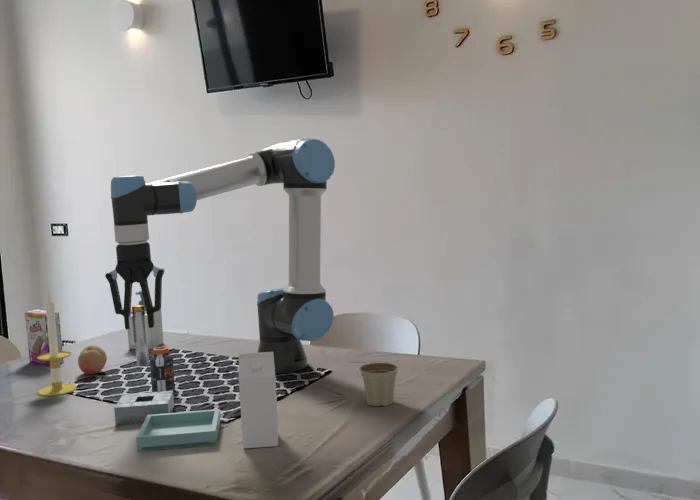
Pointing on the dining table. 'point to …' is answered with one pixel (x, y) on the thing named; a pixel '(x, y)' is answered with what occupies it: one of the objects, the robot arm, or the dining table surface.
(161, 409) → the block
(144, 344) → the pin
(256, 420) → the milk carton
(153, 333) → the soap bottle
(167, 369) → the pill bottle
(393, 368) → the flower pot
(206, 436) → the tray
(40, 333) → the candy bar box
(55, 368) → the candle
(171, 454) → the dining table surface
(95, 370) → the fruit
